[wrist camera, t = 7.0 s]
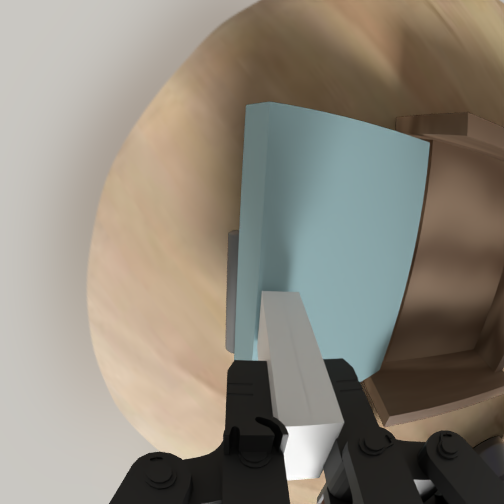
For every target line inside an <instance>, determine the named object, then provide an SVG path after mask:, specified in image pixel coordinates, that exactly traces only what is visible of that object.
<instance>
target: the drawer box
mask: <svg viewBox="0 0 504 504" xmlns="http://www.w3.org/2000/svg"><path fill="white" fill-rule="evenodd" d="M396 131H397V132H400V133H403V134H406V135H409V136H412V137H415V138H418V139H421V140H424V141H427V142H429V143H430V146H429V157H428V167H427V176H426V184H425V191H424V198H423V205H422V211H421V217H420V223H419V228H418V233H417V239H416V244H415V248H414V253H413V258H412V262H411V267H410V271H409V275H408V279H407V283H406V287H405V291H404V295H403V298H402V302H401V305H400V309H399V312H398V316H397V319H396V323H395V326H394V329H393V332H392V335H391V339H390V342H389V345H388V348H387V351H386V353H385V356H384V359H383V362H382V365H381V368H380V370H379V371H377V372H376V373H374V374H373V375H371V376H369V377H368V378H366V379H365V380H363V381H364V384H365V386H366V388H367V390H368V392H369V395H370V397H371V399H372V401H373V403H374V406H375V408H376V410H377V412H378V415H379V417H380V419H381V421H382V424H383V426H384V427H388V426H393V425H398V424H403V423H408V422H412V421H417V420H421V419H425V418H429V417H433V416H437V415H441V414H444V413H448V412H451V411H455V410H458V409H462V408H465V407H468V406H471V405H474V404H477V403H480V402H483V401H486V400H489V399H491V398H494V397H497V396H499V395H502V394H504V372H503V371H502V369H503V368H504V127H502V126H499V125H497V124H495V123H493V122H490V121H488V120H486V119H483V118H481V117H478V116H476V115H473V114H471V113H468V112H466V113H444V114H428V115H416V116H405V117H396Z"/></svg>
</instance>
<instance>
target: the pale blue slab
mask: <svg viewBox="0 0 504 504" xmlns="http://www.w3.org/2000/svg"><path fill="white" fill-rule="evenodd" d="M429 146H430V143H429V142H427V141H424V140H421V139H418V138H415V137H412V136H409V135H406V134H403V133H400V132H397V131H394V130H391V129H387V128H384V127H381V126H377V125H374V124H370V123H367V122H363V121H359V120H355V119H352V118H348V117H344V116H339V115H335V114H331V113H327V112H322V111H318V110H313V109H308V108H303V107H298V106H293V105H287V104H282V103H276V102H263V103H256V104H250V105H246V115H245V132H244V150H243V168H242V187H241V207H240V228H239V230H234V231H230V232H229V233H228V261H227V297H226V349H227V350H228V351H229V352H231V353H234V360H253V361H258V352H257V343H258V331H259V319H260V307H261V295H262V291H279V292H299V293H300V296H301V299H302V302H303V304H304V307H305V310H306V313H307V315H308V318H309V321H310V324H311V327H312V329H313V332H314V335H315V338H316V341H317V344H318V346H319V349H320V352H321V355H322V358H323V359H338V358H343V359H344V360H345V361H346V362H348V363H349V364H350V365H351V366H352V367H353V368H354V370H355V373H356V375H357V377H358V381H359V382H361V381H363V380H365V379H366V378H368V377H369V376H371V375H373V374H374V373H376V372H377V371H379V370H380V368H381V365H382V362H383V359H384V356H385V353H386V351H387V348H388V345H389V342H390V339H391V335H392V332H393V329H394V326H395V323H396V319H397V316H398V312H399V309H400V305H401V302H402V298H403V295H404V291H405V287H406V283H407V279H408V275H409V271H410V267H411V262H412V258H413V253H414V248H415V244H416V239H417V233H418V228H419V223H420V217H421V211H422V205H423V198H424V191H425V184H426V176H427V167H428V157H429Z"/></svg>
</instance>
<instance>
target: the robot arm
mask: <svg viewBox="0 0 504 504" xmlns="http://www.w3.org/2000/svg"><path fill="white" fill-rule="evenodd" d="M257 352H258V361H253V360H234V362H233V363H232V365H231V366H230V368H229V369H228V373H227V396H226V420H225V431H224V434H223V441H222V443H221V445H220V446H219V447H218V448H217V449H216V450H215V451H213V452H211V453H210V454H208V455H204V456H201V457H196V458H191V459H185V460H182V459H181V458H179V457H177V456H175V455H173V454H171V453H165V452H154V453H148V454H146V455H144V456H142V457H140V458H138V460H136V462H135V463H134V464H133V465H132V466H131V468H130V470H129V472H128V473H127V475H126V477H125V478H124V480H123V481H122V483H121V485H120V487H119V488H118V490H117V491H116V493H115V495H114V497H113V498H112V500H111V501H110V503H109V504H290V499H289V491H288V484H287V480H299V479H310V478H319V477H320V475H321V473H322V471H323V469H324V473H325V478H326V483H325V485H324V487H323V489H322V490H321V492H320V494H319V496H318V497H317V504H321V502H322V501H323V499H324V502H325V504H504V442H503V440H502V438H501V437H500V436H496V437H493V438H490V439H488V440H486V441H485V442H483V443H481V444H480V445H478V446H476V447H475V448H472V447H471V446H470V445H469V444H468V443H467V442H466V441H465V440H464V439H463V438H462V437H461V436H460V435H458V434H457V433H454V432H451V431H439V432H436V433H434V434H433V435H432V436H430V437H429V439H428V440H427V441H426V442H411V441H401V440H397V439H395V437H394V436H393V434H392V433H390V432H389V431H387V430H386V429H384V428H381V427H379V425H378V423H377V421H376V419H375V416H374V414H373V412H372V409H371V407H370V405H369V402H368V400H367V398H366V395H365V393H364V391H362V386H361V384H360V382H359V381H358V377H357V375H356V373H355V370H354V368H353V367H352V366H351V365H350V364H349V363H348V362H346V361H345V360H344V359H343V358H338V359H323V358H322V355H321V352H320V349H319V346H318V344H317V341H316V338H315V335H314V332H313V329H312V327H311V324H310V321H309V318H308V315H307V313H306V310H305V307H304V304H303V302H302V299H301V296H300V293H299V292H279V291H262V295H261V307H260V319H259V331H258V343H257Z"/></svg>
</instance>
